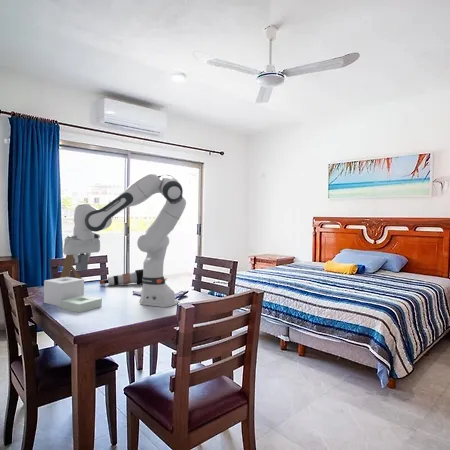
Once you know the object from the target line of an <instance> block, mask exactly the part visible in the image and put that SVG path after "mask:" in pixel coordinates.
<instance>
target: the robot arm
mask: <svg viewBox="0 0 450 450" xmlns="http://www.w3.org/2000/svg"><path fill="white" fill-rule="evenodd" d="M183 191H184V190H183V187H182V185H181V183H180V181H178V180H177V179H176V177H175V178H174V176H172V175H169V174H163V175H157V174H155V173H153V172H150V173H149V172H148V173H146V174H144V175H143V176H141V177H139V178H138V179H136V180H134V181H133V182H132V183H131V184H130V185H129V186H127V187H126V189H124V191H122V192H121V193H120V194H119V195H118V197H115V199H113V200H111V201H110V202H109V203H108V204H106V205H104V206H103V207H102V208H100V209H99V208H96V207H95V206H93V205H92V204H91V203H85V204H78V205H77V206H75V210H74V214H73V223H74V227H73V234H72V235H67V236H66V237H65V238H64V244H63V249H62V250H63V251H62V252H63V254H64V255H65V256H66V255H73V257H74V258H75V259H74V263H75V264H76V263H80V259H78V257H77V256H78V254H87V255H88V262H90V260H89V259H90V257H91V254H92V253H99V252H100V250H101V240H100V238H101V235H100V234H98V233H96V232H100V231H102V230H106V229H108V228H109V227H110V226H111V225H112V220H113V219H112V218H113V217H114V216H116V215H117V214H119V213H120V212H121V211H123V210H125V209H127V208H130V207H134V206H137V205H140V204H142V203H143V202H145V201H146V200H148V199H150V198H151V197H152V196H153V195H155V194H158V193H159V194H161V195H162V196H163V198H165V204H164V205H163V206H162V208H161V210H160V211H159V214H158V215H157V217H156V218H155V219H154V220H153V222H152V224H151V225H150V226H149V227H148V228H147V229H146V230H145V232H144V233H143V234H142V235H140V236H139V237H138V239H137V242H136V244H137V247H138V249H139V250H140V251H141V252H142V253H147V254H146V257H145V259H144V261H143V267H142V269H143V276H142V283H143V284H142V287H141V288H142V289H141V293H140V298H139V305H142V306H152V307H161V308H167V307H173V306H175V305H176V306H177V303H178V304H179V303H180V300H178V299H176V295H175V294H176V293H175V292H174V290H173V289H172V288H171V287H170V286H169V285H168V284H167V283H166V281H167V280H168V277H167V278H165V276H164V264H165V263H164V261H165V257H166V254H167V253H166V252H167V248H168V246H169V244H170V238H169V236H168V235H169V234H171V232H172V231H173V230H174V228H175V227H176V226H177V223H179V222H178V221H179V220H180V219H181V217H182V215H183V213H184V211H185V208H186V205H187V201H186V199H185V198H184V196H183Z"/></svg>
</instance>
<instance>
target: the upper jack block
mask: <svg viewBox="0 0 450 450" xmlns="http://www.w3.org/2000/svg"><path fill="white" fill-rule="evenodd" d="M43 288H44V289H43V303H44V304H47V305H51V306H57V307H60V300H64V299H68V298H73V297H77V296H81V295H85V279H84V278H82V279H78V278H75V277H71V276H70V277H63V278H60V277H58V278H51V279H45V280H44V281H43Z"/></svg>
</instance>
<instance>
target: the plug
mask: <svg viewBox="0 0 450 450" xmlns="http://www.w3.org/2000/svg"><path fill="white" fill-rule="evenodd" d="M77 257H78V259H80V263H75V270H76V271H77V272H83V271H88V264H89V261H88V255H87V254H86V253H84V254H78V256H77Z"/></svg>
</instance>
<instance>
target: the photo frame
mask: <svg viewBox="0 0 450 450" xmlns="http://www.w3.org/2000/svg"><path fill="white" fill-rule="evenodd" d="M74 263H75V258H74V257H73V255H65V259H64V262H63V266H62V269H61V272H60V276H59V278H63V277H71V274H73V276H74V277H73V278H78V279H83V277H81V275H80V274H79V273H78V270H76V268H74V266H73V265H74Z"/></svg>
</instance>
